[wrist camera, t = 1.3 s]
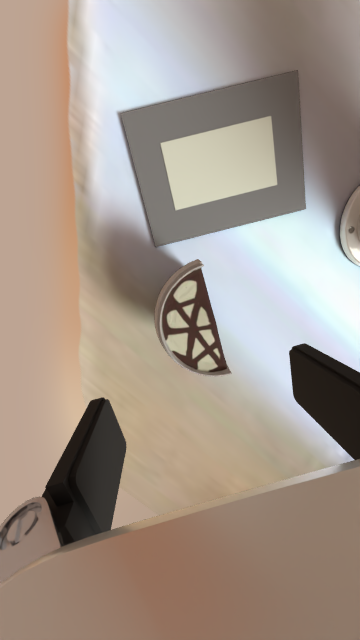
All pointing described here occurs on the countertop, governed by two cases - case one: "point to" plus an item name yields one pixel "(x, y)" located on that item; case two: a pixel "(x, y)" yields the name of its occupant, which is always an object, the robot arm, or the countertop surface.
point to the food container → (189, 323)
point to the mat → (219, 158)
